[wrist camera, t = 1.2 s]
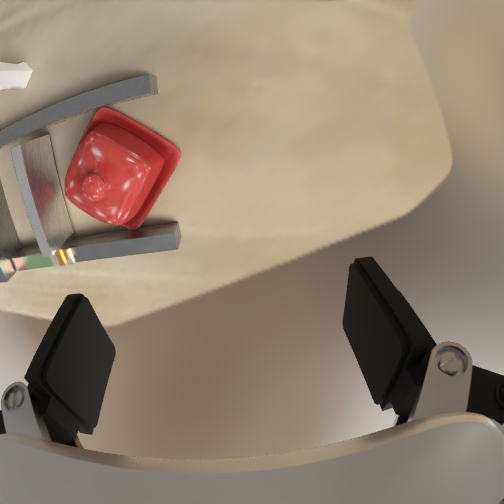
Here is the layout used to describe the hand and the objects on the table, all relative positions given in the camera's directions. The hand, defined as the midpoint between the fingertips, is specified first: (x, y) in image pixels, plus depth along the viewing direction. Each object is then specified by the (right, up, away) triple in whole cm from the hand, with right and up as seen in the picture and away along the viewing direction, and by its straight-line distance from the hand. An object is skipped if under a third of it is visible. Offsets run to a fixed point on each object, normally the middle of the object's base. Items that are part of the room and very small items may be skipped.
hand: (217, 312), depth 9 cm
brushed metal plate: (-23, +9, +19) cm, 31 cm away
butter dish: (-14, +12, +20) cm, 27 cm away
